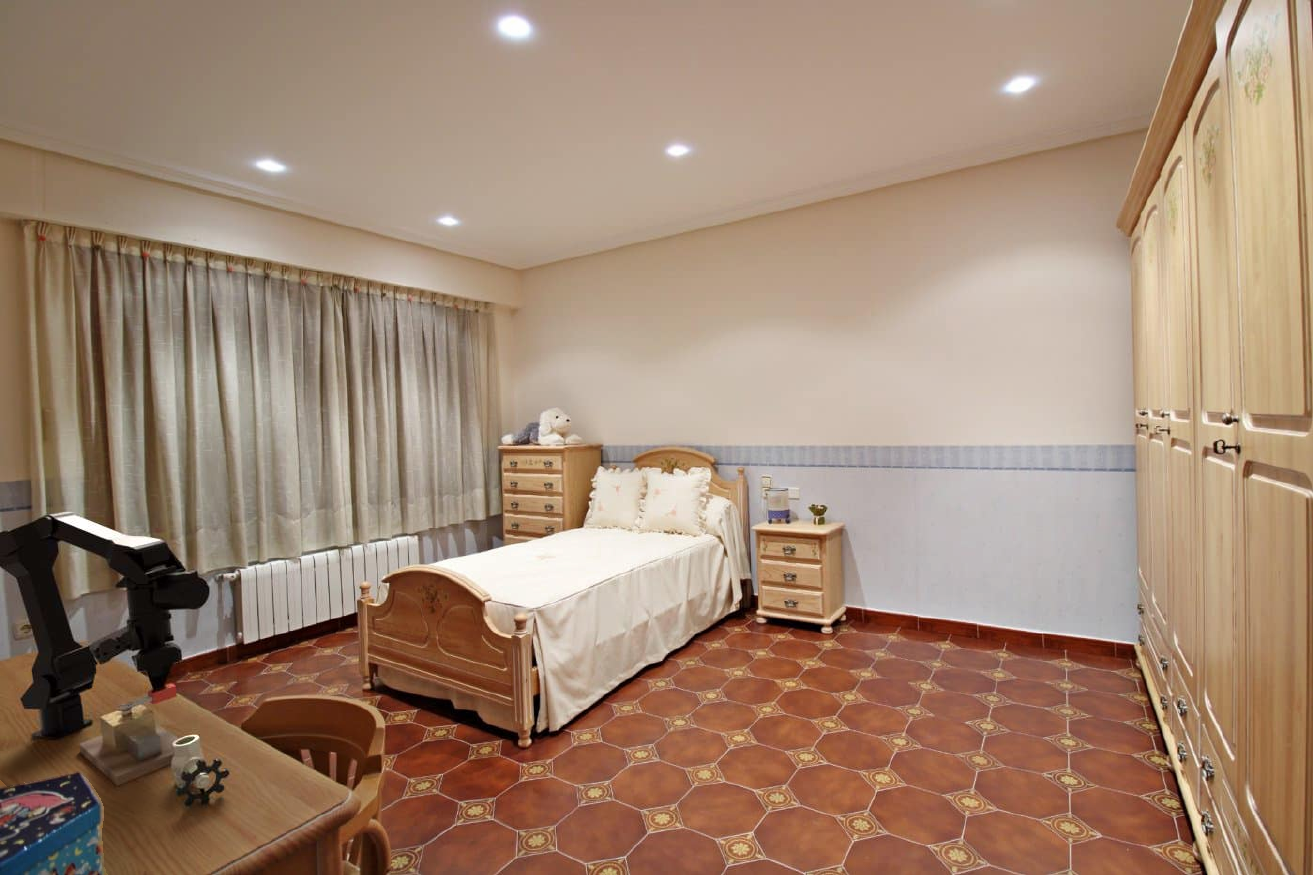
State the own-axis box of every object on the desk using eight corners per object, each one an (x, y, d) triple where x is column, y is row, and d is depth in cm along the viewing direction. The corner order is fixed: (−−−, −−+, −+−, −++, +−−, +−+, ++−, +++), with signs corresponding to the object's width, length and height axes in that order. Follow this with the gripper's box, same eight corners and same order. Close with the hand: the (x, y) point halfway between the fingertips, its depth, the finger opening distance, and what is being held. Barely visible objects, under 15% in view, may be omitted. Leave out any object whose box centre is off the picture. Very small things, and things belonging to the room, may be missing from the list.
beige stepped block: (98, 740, 111) (94, 707, 111) (137, 726, 116) (134, 694, 115) (129, 766, 102) (125, 730, 102) (171, 749, 107) (167, 715, 106)
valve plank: (79, 751, 111) (78, 743, 111) (149, 725, 119) (148, 718, 119) (117, 785, 99) (116, 776, 99) (191, 754, 108) (190, 746, 107)
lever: (121, 715, 108) (120, 704, 108) (117, 712, 110) (116, 701, 109) (176, 696, 115) (175, 685, 115) (172, 693, 116) (171, 683, 116)
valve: (161, 785, 99) (178, 816, 91) (156, 745, 99) (174, 772, 91) (210, 766, 104) (231, 793, 96) (206, 727, 103) (227, 751, 95)
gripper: (87, 611, 116) (96, 693, 117) (93, 634, 102) (103, 726, 103) (163, 596, 124) (171, 673, 124) (177, 615, 110) (187, 701, 111)
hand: (158, 692), depth 116 cm, fingers closed
